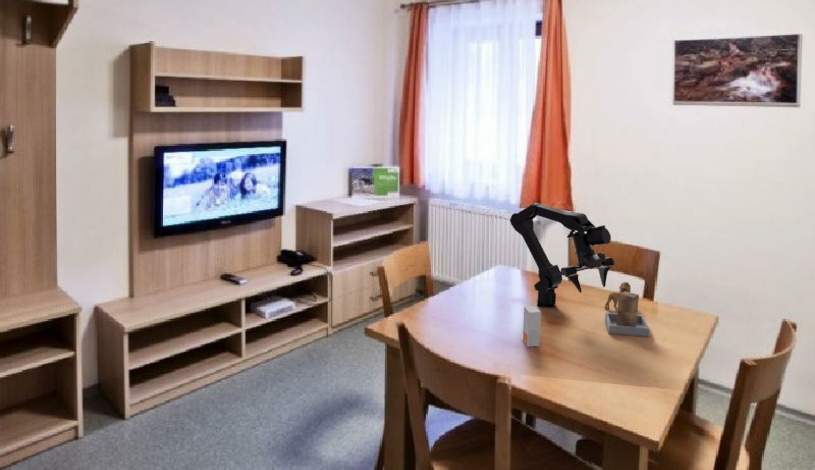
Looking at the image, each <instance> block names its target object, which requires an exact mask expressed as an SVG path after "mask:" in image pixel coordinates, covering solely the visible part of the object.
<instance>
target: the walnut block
mask: <svg viewBox="0 0 815 470" xmlns="http://www.w3.org/2000/svg"><path fill="white" fill-rule="evenodd" d="M639 299H640V295H639V294H637V293H633V292H631V291H630V292H626V291H625V292H623V293H621V294H619V303H618V302H617V306H618V307H617V308H618V310H617V314H618V315H617V325H618V326H630V327H636V321H637V315H638V312H639V311H638V310H639V308H638V307H639Z"/></svg>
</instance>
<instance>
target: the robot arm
mask: <svg viewBox="0 0 815 470" xmlns="http://www.w3.org/2000/svg"><path fill="white" fill-rule="evenodd" d="M537 217H541V218H544V219H547V220H551V221H554V222H557V223H560V224H561V225H562V226H563V227H564V228H566V229H568V230H570V231H569V234H567V236H566V238H567V239H571V238H572V240H573V245H574V246H573V247H574V250H575V251H574V254H575V255H576V259H577V263H576V264H577V266H575V265H568V266H564V267H563V266H562V267H561V268H560V267H559V266H558V264H555V265H554V264H553V263H551V262H550V260H549V258H548V256H547V255H546V251H545V250H544V248H543V247H542V245H541V242H540V240H539V239H538V236H537V235H536V233H535V229H534V221H533V220H534V219H535V218H537ZM509 222H510V225H511V226H512V228H513V229H514V231H516V232H517V233H518V234H519V235H520V236H521V237H522V238H523V240H524V243H525V244H526V246H527V248H528V250H529V253H530V254H531V256H532V258H533V260H534V262H535V264H536V266H537V269H538V274H537V275H538V279H539V281H537V282H535V284H534V285H533V287H534V290H535V291H537V300H536V307H545V308H555V305H556V304H557V303H556V300H557V293H556V291H555V289H558V288H559V286H560V285H561V284H562V281H563V277H564V276H565V278H568V279H569V280H570V281H571V282H572V283H573V285H574V286H575V288H576V289H577V291H578V293H582V288H581V283H580V280H579V274H577V272H580V271H584V270H593V269H595V268H597V269H598V273H599V277H600V281H601V284H602V285H601V286H602V287H603V288H605V287H606V285H607V277H608V272H609V271H610V269H612V267H613V266H614V265H615V264H616V262H615V259H614V258H613V257H611V256H610V257H608V256H607V257H606V254H605V252H603V251H602V252H597V253H595V251H594V248H592V247H597V246H604V245H609V244H610V242H611V241H612V240H611V239H612V235H611V233H610V231H609V230H608V229H607V228H606V225H605V224H604V225H603V224H602V225H600V226H595V224H593V222H592V221H590V220H589V218H588V217H587V215H586V214H585V213H582V212H573V211H571V212H570V211H569V212H568V211H563V210H560V209H558V208H557V209H556V208H553V207H551V206H548V205H547V206H546V205H544V204H541V203H539V202H535V203H532V204H529V206H527V207H526V208H524V209H521V210H520V211H519V212H514V213H513V214H511V216H510V219H509Z"/></svg>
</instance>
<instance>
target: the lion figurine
mask: <svg viewBox="0 0 815 470" xmlns="http://www.w3.org/2000/svg"><path fill="white" fill-rule="evenodd" d="M618 288H619V291H611V292H610V293H609V294H608V297H607V301H606V302H605V304H604V309H605V310H607V311H610V303H611V301H613V308H614V309H615V311H618V307H617V306H618V303H619V294H621V293H623V292H625V291H626V292H630V293H631V284H630V283H629V282H628V281H623V282H621V284H620V285H619V287H618Z"/></svg>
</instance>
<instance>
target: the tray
mask: <svg viewBox="0 0 815 470" xmlns="http://www.w3.org/2000/svg"><path fill="white" fill-rule="evenodd" d="M604 315H605V316H604V323H605V326H606V330H607V333H608V335H619V336H632V337H645V338H650V337H649V333H650V327H649V325H648V322H647V321H646V319H645V317H644V315H643V314H641V315H640V314H637V321H636V327H630V326H618V325H617V315H618V312H617V313H613V312H605V313H604Z"/></svg>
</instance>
